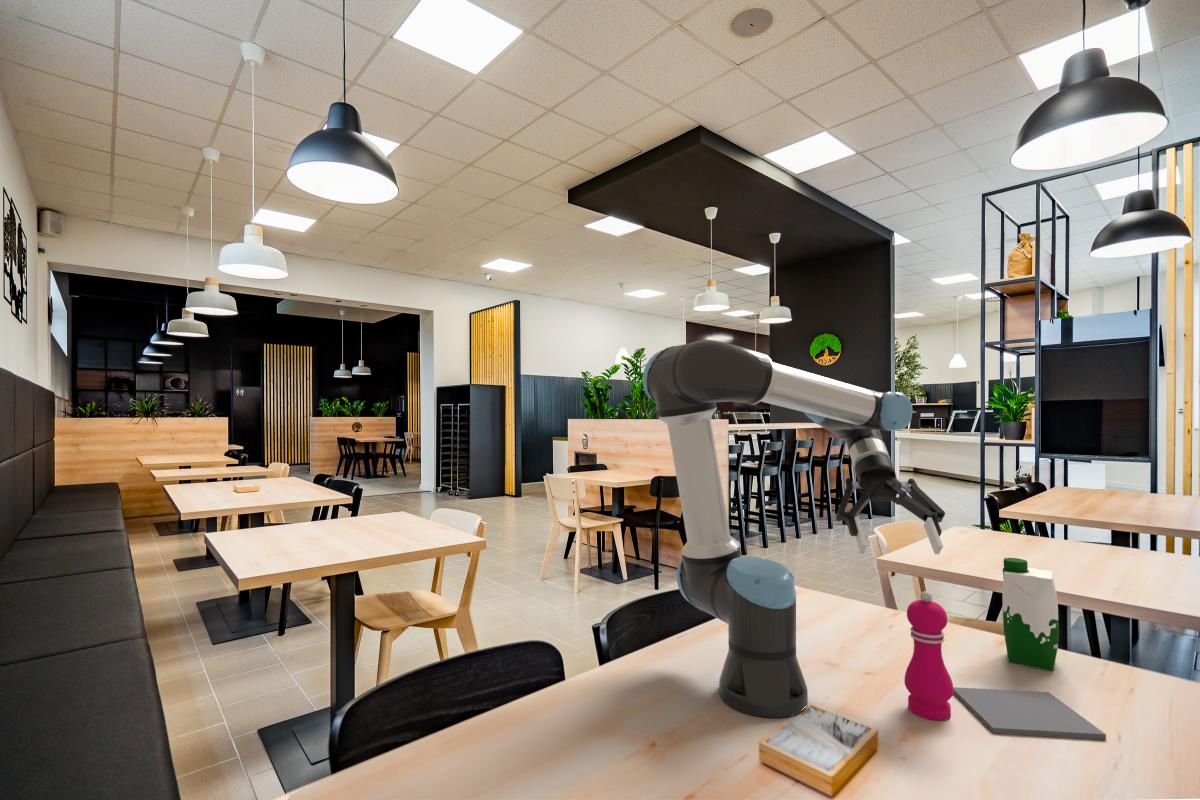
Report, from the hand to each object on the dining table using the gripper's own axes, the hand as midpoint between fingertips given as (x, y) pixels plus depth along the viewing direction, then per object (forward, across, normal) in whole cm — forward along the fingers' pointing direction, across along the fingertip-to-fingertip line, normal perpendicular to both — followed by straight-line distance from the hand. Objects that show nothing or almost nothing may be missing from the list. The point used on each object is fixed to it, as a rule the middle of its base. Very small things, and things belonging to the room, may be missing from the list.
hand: (901, 549), depth 111 cm
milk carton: (+9, -29, -26) cm, 40 cm away
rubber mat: (+25, -14, -9) cm, 30 cm away
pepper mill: (+26, +1, -9) cm, 27 cm away
